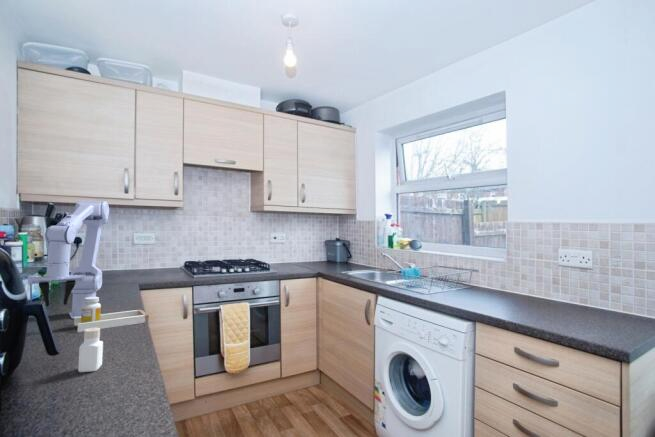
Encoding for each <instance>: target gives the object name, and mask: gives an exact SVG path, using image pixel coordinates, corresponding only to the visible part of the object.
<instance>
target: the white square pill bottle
mask: <svg viewBox="0 0 655 437" xmlns="http://www.w3.org/2000/svg"><path fill="white" fill-rule="evenodd" d="M100 337H101V329H100V328H89V329H86V330H85V331H83V339H84V340H83V342H82V343H81V345H80V346H79V349H78V350H79V352H78V369H77V370H78V372H79V373H88V372H89V373H90V372H96V371H98V370H99V369H100V368H101V366H102V364H103V355H104V354H103V353H104V341H102V340H100Z"/></svg>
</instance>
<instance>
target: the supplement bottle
mask: <svg viewBox="0 0 655 437" xmlns="http://www.w3.org/2000/svg"><path fill="white" fill-rule="evenodd" d="M101 310H102V305H101V303H100V297H99V296H96V297H87V298H85V304H84V305H83V306H82V314H81V323H85V322H93V321H100V315H101V314H102V313H101V312H102V311H101Z"/></svg>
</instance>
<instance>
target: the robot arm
mask: <svg viewBox="0 0 655 437" xmlns="http://www.w3.org/2000/svg"><path fill="white" fill-rule="evenodd" d="M74 209H75V210H74V211H73V213H71V214H66V215H65V217H63V218H62V219H61V220H60V221H59V222H57V224H56V225H50V226H48V227H47V228H46V230H45V232H44V241H45V247H46V249H47V264H46V275H44V276H32V277H28V278H27V285H29V286H30V285H36V284H37V285H38V287H39V288H40V290H41V293H42V295H43V297H44V300H45V302H44V303H45V307H50V306H49V305H50V298H49V297H50V296H49V295H50V283H53V284H54V283H64V295H63V302H62V304H63V305H64V306H66V305H67V304H68V300H69V297H70V295H71V294H72V306H71V312H68V314H69V317H70V318H71V319H72V320H73V319H75V317H81V314H82V306H83V305H84V304H85V298H87V297H97V291H99V290H100V289H101V288H102V286H103V271H102V270H101V269H100V268H98V267H97V266H96V264H97V257H98V253H99V247H100V239H101V236H102V235H101V234H102V228H103V226H104V225H105V224H107V223H108V220H109V214H110V207H109V202H107V201H105V200H104V201H100V200H98V201H97V200H96V201H95V200H82V199H79V200H78V201H77V202H76V203H75V206H74ZM83 224H84V225H86V232H85V234H84V235H85V237H84V242H83V246H82V252H81V258H80V262H79V265H78V266H76V267H75V268H73V269H72V270H71V272H70V265H71V263H70V262H71V248H72V247H71V246H72V245H71V244H72V243H74V242H75V238H76V236H77V232H78V231H79V230H80V229H81V227H82V226H83Z"/></svg>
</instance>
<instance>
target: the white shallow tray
mask: <svg viewBox="0 0 655 437" xmlns="http://www.w3.org/2000/svg"><path fill="white" fill-rule="evenodd" d="M149 316H150V315H149V314H148V313H147V312H145V311H144V310H143V309H136V310H135V309H134V310H126V311H117V312H109V313H101V315H100V321H93V322H85V323H81V317H75V318H74V320H73V321H74V322H73V324H74V327H75V326H76V327H77V329H76V330H77V333H82V332H83V333H84V331H85V330H86V329H89V328H100V330H102V329H109V328H116V327H123V326H130V325H135V324H143V323H149V318H150V317H149Z"/></svg>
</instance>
